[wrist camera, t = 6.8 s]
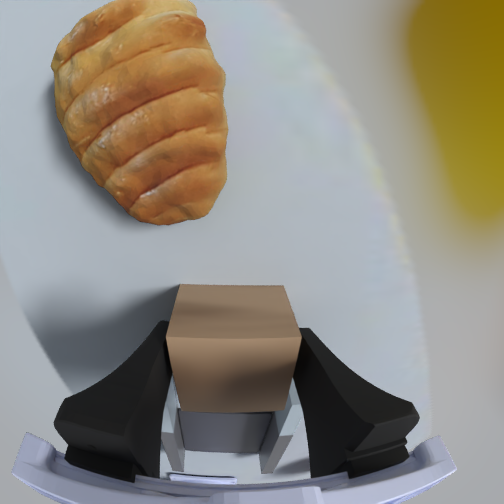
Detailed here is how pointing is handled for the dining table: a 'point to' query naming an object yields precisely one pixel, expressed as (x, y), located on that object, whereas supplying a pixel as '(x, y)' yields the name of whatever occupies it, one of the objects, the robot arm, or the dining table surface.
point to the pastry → (145, 107)
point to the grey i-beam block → (229, 431)
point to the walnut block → (232, 347)
